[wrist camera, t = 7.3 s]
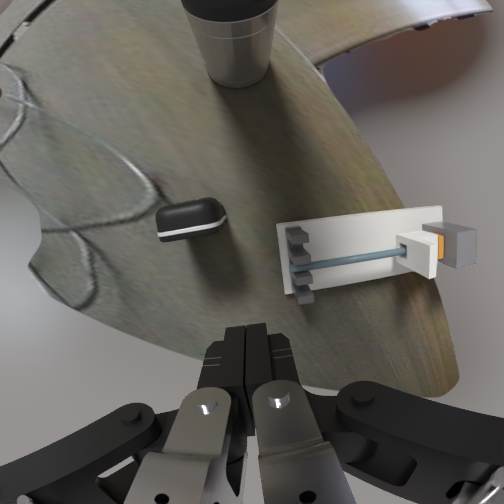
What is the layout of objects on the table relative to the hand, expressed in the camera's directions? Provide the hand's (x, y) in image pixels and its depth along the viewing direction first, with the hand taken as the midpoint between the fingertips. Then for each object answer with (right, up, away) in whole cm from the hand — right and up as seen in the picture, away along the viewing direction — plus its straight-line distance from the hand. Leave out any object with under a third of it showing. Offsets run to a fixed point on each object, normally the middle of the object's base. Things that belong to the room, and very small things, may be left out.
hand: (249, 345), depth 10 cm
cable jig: (+18, +5, +29) cm, 34 cm away
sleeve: (+23, +5, +25) cm, 34 cm away
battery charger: (-7, +9, +28) cm, 30 cm away
